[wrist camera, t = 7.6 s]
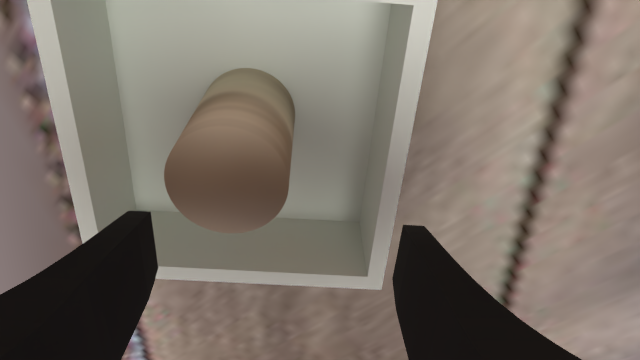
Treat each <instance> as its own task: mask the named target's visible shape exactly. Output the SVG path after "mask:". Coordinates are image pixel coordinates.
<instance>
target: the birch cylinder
mask: <svg viewBox="0 0 640 360" xmlns="http://www.w3.org/2000/svg"><path fill="white" fill-rule="evenodd" d="M294 123H295V108H294V103H293V100H292V98H291V95H290V93H289V92H288V90H287V89H286V87H285V86H284V85H283V84H282V83H281V82H280V81H279V80H278V79H276V78H275V77H274V76H272V75H270V74H268V73H266V72H264V71H261V70H257V69H252V68H240V69H234V70H231V71H228V72H226V73H224V74H222V75H220V76H219V77H218V78H216V79H215V80H214V81H213V82H212V84H211V85H210V86H209V88H208V89H207V91H206V93H205V94H204V96H203V98H202V100H201V101H200V103H199V105H198V106H197V108H196V110H195V111H194V113H193V115H192V116H191V118H190V120H189V122H188V123H187V125H186V127H185V128H184V130H183V132H182V133H181V135H180V137H179V138H178V140H177V142H176V143H175V145H174V147H173V149H172V150H171V152H170V154H169V156H168V158H167V161H166V164H165V169H164V181H165V187H166V190H167V193H168V195H169V197H170V199H171V201H172V202H173V204H174V205H175V207H176V208H177V209H178V210H179V211H180V212H181V213H182V214H183V215H184V216H185V217H186V218H188V219H189V220H190V221H192V222H194V223H195V224H197V225H199V226H201V227H203V228H206V229H209V230H212V231H216V232H221V233H244V232H248V231H252V230H255V229H258V228H260V227H262V226H264V225H266V224H267V223H269V222H270V221H271V220H272V219H274V218H275V217H276V216H277V215H278V213H279V212H280V211H281V209H282V208H283V206H284V204H285V202H286V199H287V196H288V190H289V179H290V168H291V157H292V145H293V134H294Z"/></svg>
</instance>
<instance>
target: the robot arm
mask: <svg viewBox="0 0 640 360" xmlns="http://www.w3.org/2000/svg"><path fill="white" fill-rule="evenodd" d="M157 271H158V262H157V255H156V247H155V240H154V232H153V225H152V218H151V212H147V211H128V212H126V213H125V214H123V215H122V216H120V217H119V218H117V219H116V220H115V221H113V222H112V223H111V224H109V225H108V226H107V227H105V228H104V229H103V230H101V231H100V232H98V233H97V234H96V235H94V236H93V237H92V238H90V239H89V240H87V241H86V242H85V243H83V244H82V245H80V246H79V247H78V248H76V249H75V250H73V251H72V252H70V253H69V254H67V255H66V256H64V257H63V258H61V259H60V260H58V261H57V262H55V263H54V264H52V265H51V266H49V267H48V268H46V269H45V270H43V271H42V272H40V273H38V274H36V275H35V276H33V277H31V278H30V279H28V280H26V281H25V282H23V283H21V284H19V285H17V286H16V287H14V288H12V289H10V290H8V291H6V292H5V293H3V294H1V295H0V360H121V358H122V356H123V354H124V352H125V350H126V347H127V345H128V343H129V341H130V339H131V337H132V335H133V333H134V330H135V328H136V326H137V324H138V322H139V320H140V317H141V315H142V313H143V311H144V309H145V306H146V304H147V302H148V300H149V297H150V294H151V291H152V287H153V284H154V281H155V277H156V274H157ZM393 288H394V297H395V304H396V311H397V315H398V319H399V323H400V327H401V331H402V335H403V339H404V343H405V347H406V351H407V354H408V358H409V360H581V359H580V358H578V357H576V356H575V355H573V354H571V353H569V352H568V351H566V350H565V349H563V348H561V347H560V346H558V345H556V344H555V343H553V342H552V341H550V340H549V339H547V338H546V337H544V336H543V335H542V334H540V333H539V332H537V331H536V330H534V329H533V328H531V327H530V326H528V325H527V324H526V323H524V322H523V321H522V320H520V319H519V318H518V317H516V316H515V315H514V314H513V313H511V312H510V311H509V310H508V309H506V308H505V307H504V306H503V305H501V304H500V303H499V302H498V301H497V300H495V299H494V298H493V297H492V296H491V295H490V294H489V293H488V292H486V291H485V290H484V289H483V288H482V287H481V286H480V285H479V284H478V283H477V282H476V281H475V280H474V279H473V278H472V277H471V276H470V275H469V274H468V273H467V272H466V271H465V270H464V269H463V268H462V267H461V266H460V265H459V264H458V263H457V262H456V261H455V260H454V259H453V258H452V257H451V256H450V254H449V253H448V252H447V251H446V250H445V249H444V248H443V247H442V246H441V244H440V243H439V242H438V241H437V240H436V239H435V238H434V237H433V235H432V234H431V233H430V232H429V231H428V230H427V229H426V228H425V227H424V226H414V225H403V228H402V233H401V239H400V244H399V249H398V254H397V259H396V264H395V269H394V274H393Z"/></svg>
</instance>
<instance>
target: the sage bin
mask: <svg viewBox="0 0 640 360" xmlns="http://www.w3.org/2000/svg"><path fill="white" fill-rule="evenodd" d="M437 1H438V0H27V3H28V7H29V11H30V16H31V20H32V25H33V29H34V33H35V38H36V42H37V46H38V51H39V55H40V60H41V64H42V68H43V73H44V77H45V81H46V86H47V90H48V95H49V99H50V103H51V108H52V112H53V116H54V121H55V125H56V130H57V134H58V138H59V143H60V147H61V151H62V156H63V160H64V165H65V169H66V173H67V178H68V182H69V186H70V191H71V195H72V200H73V204H74V208H75V213H76V217H77V221H78V226H79V230H80V235H81V239H82V243H85V242H86V241H87V240H89V239H90V238H92V237H93V236H94V235H96V234H97V233H98V232H100V231H101V230H103V229H104V228H105V227H107V226H108V225H109V224H111V223H112V222H113V221H115V220H116V219H117V218H119V217H120V216H122V215H123V214H125V213H126V212H128V211H147V212H151V218H152V225H153V232H154V240H155V247H156V255H157V262H158V271H157V274H156V277H155V279H170V280H190V281H211V282H231V283H251V284H272V285H292V286H312V287H333V288H353V289H373V290H381V289H382V284H383V279H384V274H385V269H386V263H387V258H388V253H389V248H390V243H391V238H392V233H393V227H394V222H395V217H396V212H397V207H398V202H399V197H400V191H401V186H402V181H403V176H404V171H405V166H406V160H407V155H408V150H409V145H410V140H411V135H412V130H413V124H414V119H415V114H416V109H417V104H418V99H419V93H420V88H421V83H422V78H423V73H424V68H425V63H426V57H427V52H428V47H429V42H430V37H431V32H432V26H433V21H434V16H435V11H436V6H437ZM240 68H252V69H257V70H261V71H264V72H266V73H268V74H270V75H272V76H274V77H275V78H276V79H278V80H279V81H280V82H281V83H282V84H283V85H284V86H285V87H286V89H287V90H288V92H289V93H290V95H291V98H292V100H293V103H294V108H295V123H294V134H293V145H292V157H291V168H290V179H289V190H288V196H287V199H286V202H285V204H284V206H283V208H282V209H281V211H280V212H279V213H278V215H277V216H276V217H275V218H274V219H272V220H271V221H270V222H269V223H267V224H266V225H264V226H262V227H260V228H258V229H255V230H252V231H248V232H244V233H221V232H216V231H212V230H209V229H206V228H203V227H201V226H199V225H197V224H195V223H194V222H192V221H190V220H189V219H188V218H186V217H185V216H184V215H183V214H182V213H181V212H180V211H179V210H178V209H177V208H176V207H175V205H174V204H173V202H172V201H171V199H170V197H169V195H168V193H167V190H166V187H165V181H164V169H165V164H166V161H167V158H168V156H169V154H170V152H171V150H172V149H173V147H174V145H175V143H176V142H177V140H178V138H179V137H180V135H181V133H182V132H183V130H184V128H185V127H186V125H187V123H188V122H189V120H190V118H191V116H192V115H193V113H194V111H195V110H196V108H197V106H198V105H199V103H200V101H201V100H202V98H203V96H204V94H205V93H206V91H207V89H208V88H209V86H210V85H211V84H212V82H213V81H214V80H215V79H216V78H218V77H219V76H220V75H222V74H224V73H226V72H228V71H231V70H234V69H240Z"/></svg>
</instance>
